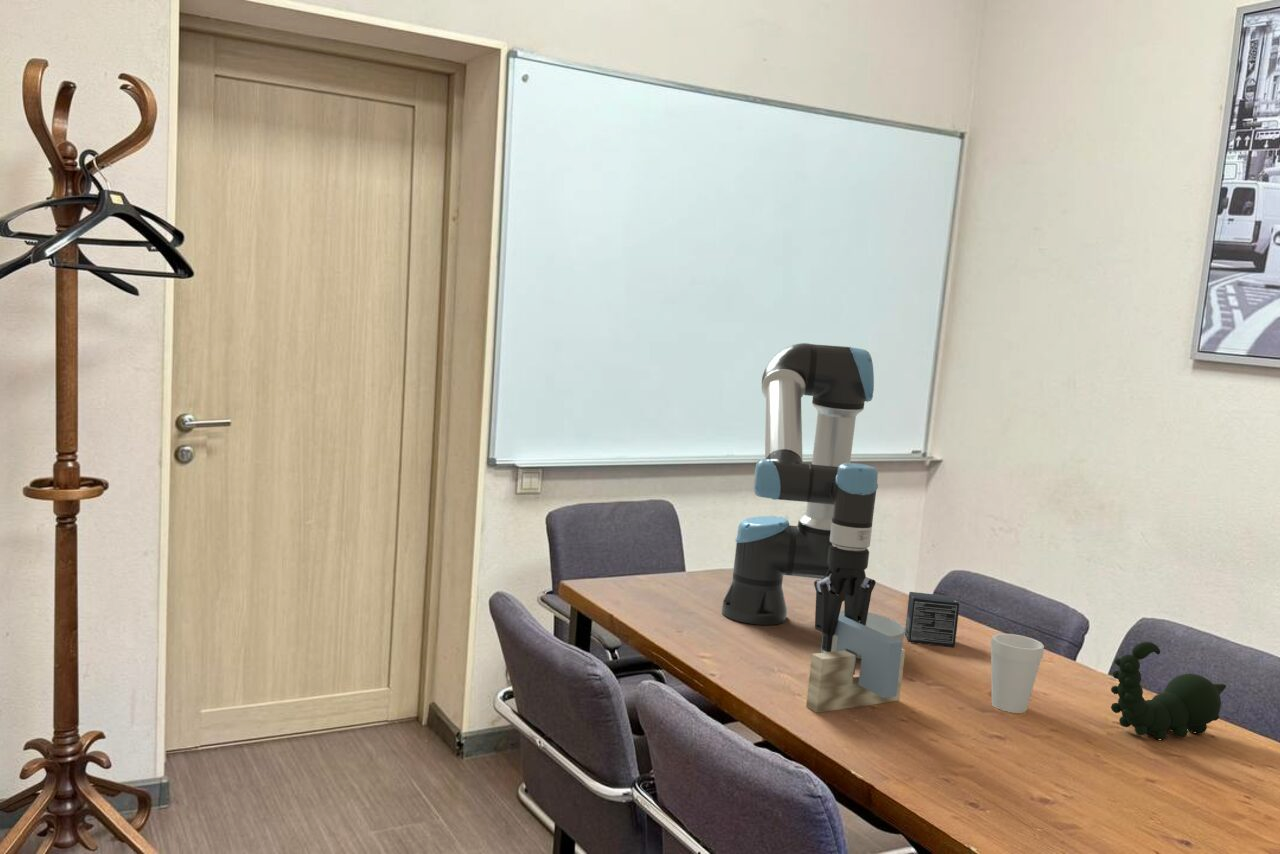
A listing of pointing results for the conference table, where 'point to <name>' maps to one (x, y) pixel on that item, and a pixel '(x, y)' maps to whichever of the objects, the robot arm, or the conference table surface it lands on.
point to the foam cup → (1013, 670)
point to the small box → (932, 619)
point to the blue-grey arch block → (871, 655)
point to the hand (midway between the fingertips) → (835, 666)
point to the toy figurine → (1164, 699)
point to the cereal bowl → (883, 626)
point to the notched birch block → (841, 683)
